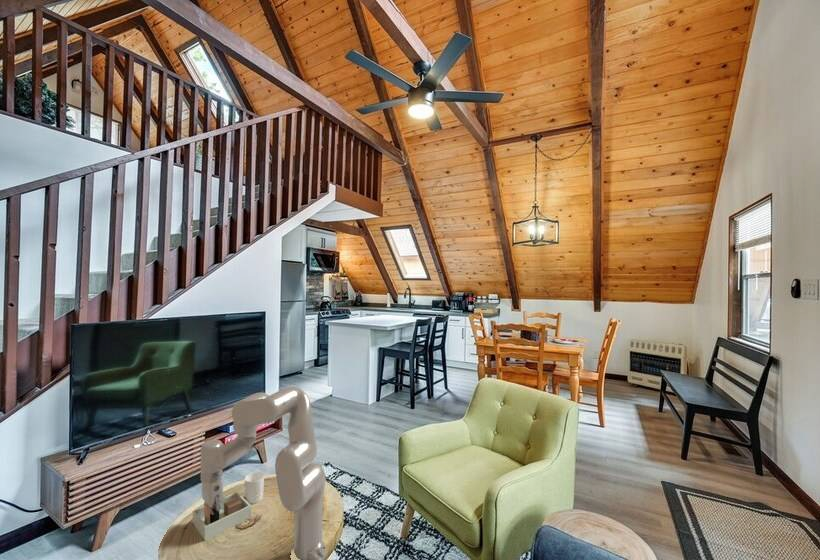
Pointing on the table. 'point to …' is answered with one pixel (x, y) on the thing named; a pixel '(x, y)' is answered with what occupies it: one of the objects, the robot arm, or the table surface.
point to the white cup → (254, 487)
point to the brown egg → (207, 513)
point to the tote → (221, 518)
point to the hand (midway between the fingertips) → (211, 518)
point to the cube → (232, 506)
